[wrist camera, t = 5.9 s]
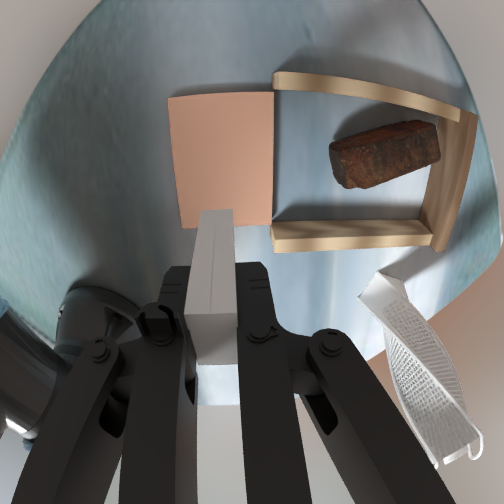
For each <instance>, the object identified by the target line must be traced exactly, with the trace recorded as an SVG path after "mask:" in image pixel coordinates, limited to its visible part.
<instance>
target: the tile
mask: <svg viewBox="0 0 504 504" xmlns="http://www.w3.org/2000/svg"><path fill="white" fill-rule="evenodd" d="M168 112H169V124H170V136H171V146H172V155H173V164H174V173H175V181H176V189H177V196H178V203H179V210H180V217H181V223H182V229H189V228H198V225H199V220H200V215H201V210H218V209H233V225H234V226H246V225H271V224H272V191H273V138H274V92H225V93H209V94H197V95H187V96H179V97H171V98H168Z"/></svg>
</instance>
